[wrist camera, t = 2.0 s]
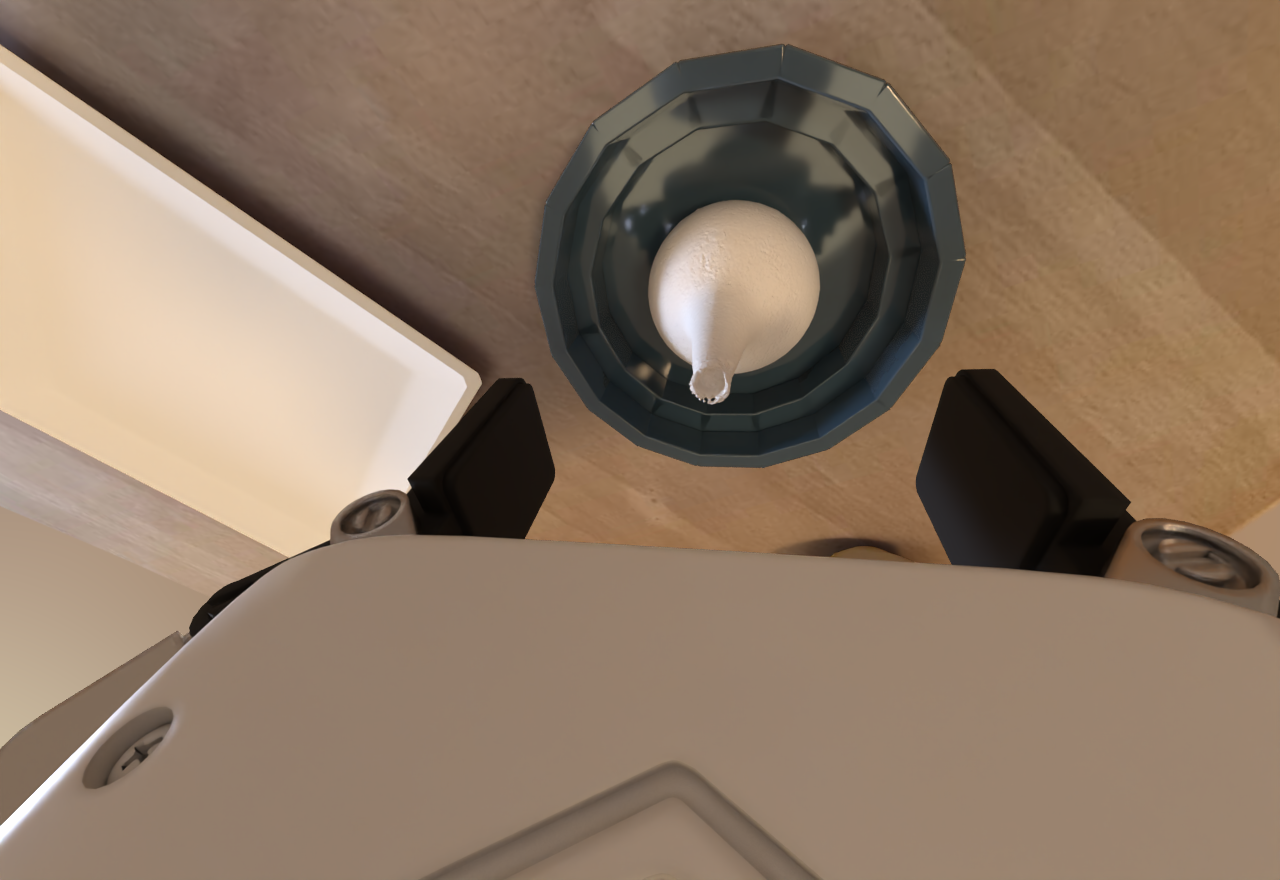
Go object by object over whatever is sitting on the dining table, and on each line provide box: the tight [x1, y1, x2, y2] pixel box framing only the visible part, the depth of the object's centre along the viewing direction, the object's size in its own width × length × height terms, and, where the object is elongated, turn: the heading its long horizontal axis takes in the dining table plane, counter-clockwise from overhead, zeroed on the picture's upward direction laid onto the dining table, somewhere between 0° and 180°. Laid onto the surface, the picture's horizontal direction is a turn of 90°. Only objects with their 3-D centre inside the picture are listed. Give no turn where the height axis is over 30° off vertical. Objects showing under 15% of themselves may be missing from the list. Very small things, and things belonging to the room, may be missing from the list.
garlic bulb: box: [648, 200, 820, 404], centre depth 15 cm, size 6×6×8 cm
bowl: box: [535, 44, 966, 468], centre depth 17 cm, size 14×14×4 cm
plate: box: [0, 44, 482, 558], centre depth 26 cm, size 26×26×2 cm
